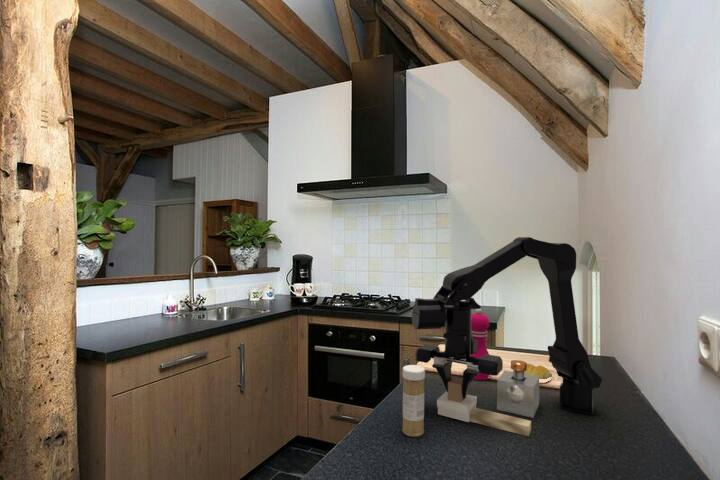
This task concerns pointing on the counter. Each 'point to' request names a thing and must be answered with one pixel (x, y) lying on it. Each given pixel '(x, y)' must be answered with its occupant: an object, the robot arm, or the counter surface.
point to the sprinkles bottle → (413, 400)
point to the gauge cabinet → (518, 394)
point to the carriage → (456, 401)
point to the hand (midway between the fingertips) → (457, 396)
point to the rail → (500, 421)
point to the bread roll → (538, 371)
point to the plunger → (518, 369)
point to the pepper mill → (480, 337)
